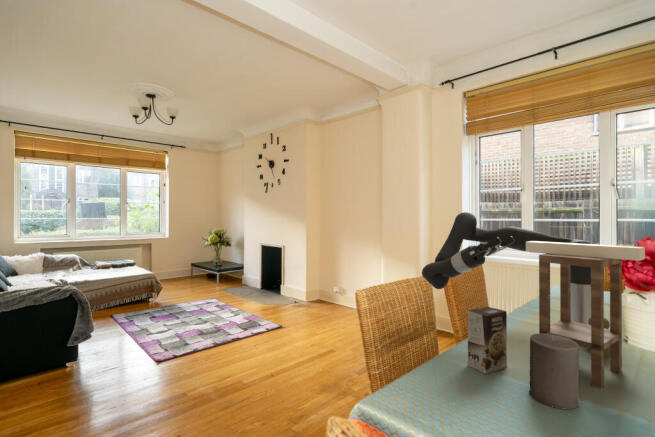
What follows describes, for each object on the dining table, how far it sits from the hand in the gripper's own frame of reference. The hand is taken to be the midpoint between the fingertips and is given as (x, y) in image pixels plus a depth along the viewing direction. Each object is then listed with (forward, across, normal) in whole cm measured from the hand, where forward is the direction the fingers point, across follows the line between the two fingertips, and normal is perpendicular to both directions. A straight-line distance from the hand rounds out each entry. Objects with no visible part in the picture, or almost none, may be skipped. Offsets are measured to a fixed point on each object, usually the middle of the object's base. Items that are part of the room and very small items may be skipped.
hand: (506, 239), depth 109 cm
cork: (-1, +18, +40) cm, 44 cm away
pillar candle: (+1, -22, +42) cm, 47 cm away
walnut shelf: (0, 0, +41) cm, 41 cm away
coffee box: (-14, -19, +33) cm, 40 cm away
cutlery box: (+16, 0, +13) cm, 20 cm away
